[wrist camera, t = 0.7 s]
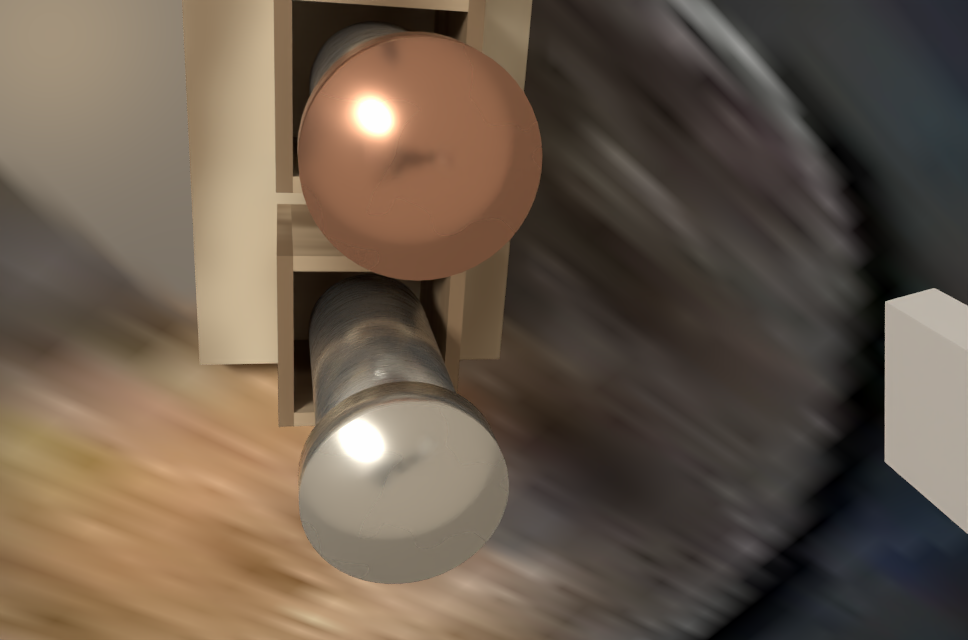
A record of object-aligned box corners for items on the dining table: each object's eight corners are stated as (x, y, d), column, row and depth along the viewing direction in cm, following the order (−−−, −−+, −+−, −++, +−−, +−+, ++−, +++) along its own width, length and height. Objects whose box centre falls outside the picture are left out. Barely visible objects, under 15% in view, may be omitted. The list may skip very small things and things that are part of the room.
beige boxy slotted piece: (202, 348, 36) (185, 443, 29) (170, -335, 27) (135, -424, 21) (491, 344, 39) (536, 429, 32) (546, -280, 30) (623, -343, 23)
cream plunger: (293, 396, 31) (299, 591, 22) (292, 258, 29) (299, 408, 20) (436, 392, 32) (500, 576, 23) (444, 259, 30) (517, 401, 21)
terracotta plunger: (292, 167, 28) (298, 280, 19) (291, -3, 26) (298, 29, 17) (450, 171, 29) (530, 280, 20) (460, 8, 27) (554, 44, 18)
